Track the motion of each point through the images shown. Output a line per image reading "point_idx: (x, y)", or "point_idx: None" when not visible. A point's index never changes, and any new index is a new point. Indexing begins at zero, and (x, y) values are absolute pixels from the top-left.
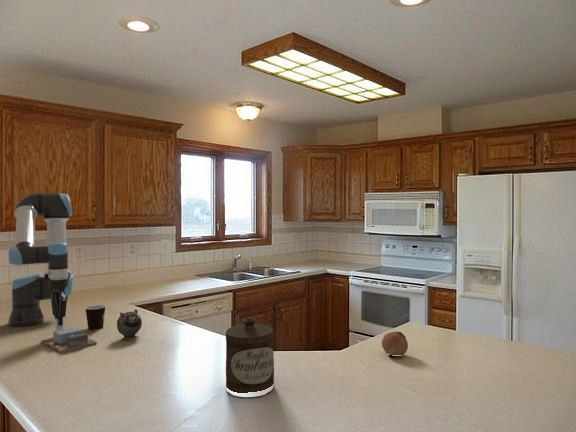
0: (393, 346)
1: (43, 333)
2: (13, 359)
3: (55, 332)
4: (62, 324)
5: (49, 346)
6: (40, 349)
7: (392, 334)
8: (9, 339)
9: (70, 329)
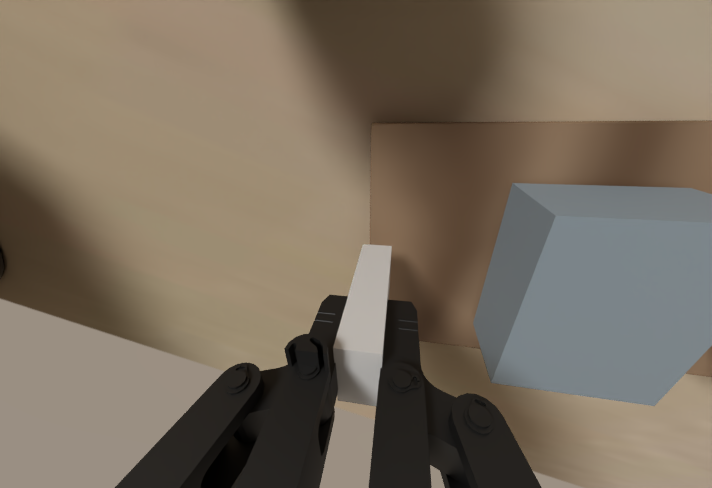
0: None
1: (190, 247)
2: (521, 450)
3: (542, 389)
4: (414, 308)
5: None
6: None
7: None
8: (217, 358)
9: (603, 297)
